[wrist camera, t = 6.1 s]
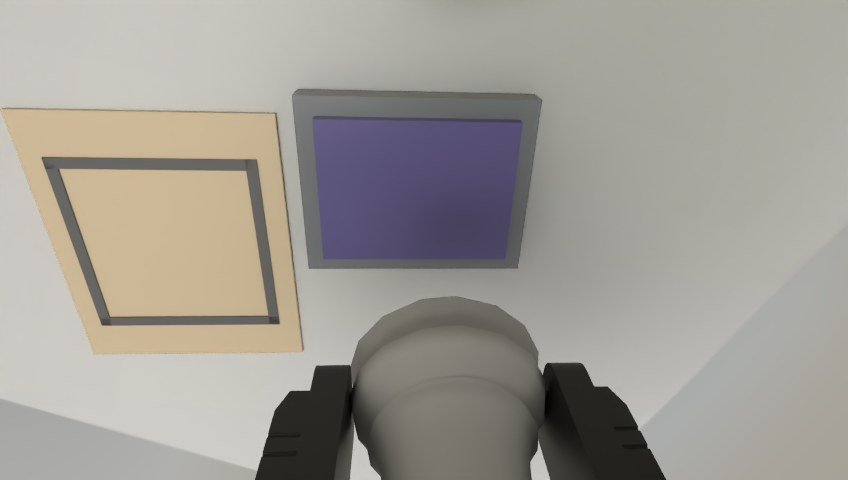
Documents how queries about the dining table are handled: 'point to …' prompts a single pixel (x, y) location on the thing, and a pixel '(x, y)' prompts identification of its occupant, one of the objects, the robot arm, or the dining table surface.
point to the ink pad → (414, 177)
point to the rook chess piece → (448, 393)
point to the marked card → (166, 226)
